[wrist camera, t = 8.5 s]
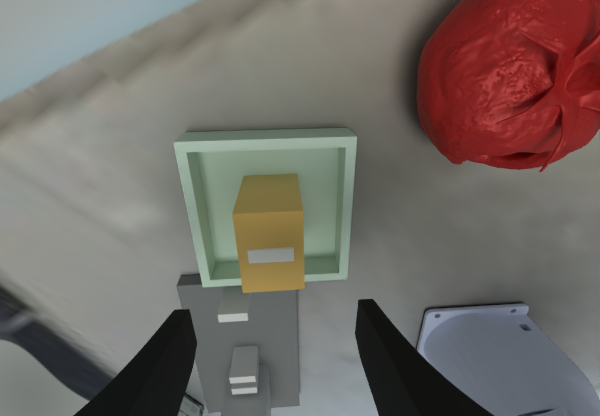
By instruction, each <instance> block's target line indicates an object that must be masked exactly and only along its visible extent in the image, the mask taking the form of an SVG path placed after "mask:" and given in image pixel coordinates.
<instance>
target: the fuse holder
mask: <svg viewBox="0 0 600 416" xmlns="http://www.w3.org/2000/svg"><path fill="white" fill-rule="evenodd" d="M177 290H178V294H179V298H180V302H181V306H182V309H190V313H191V318H192V322H193V326H194V331H195V335H196V339H197V348H196V354H195V361H196V365H197V369H198V373H199V377H200V381H201V385H202V389H203V393H204V397H205V401H206V405H207V409H208V412H209V413H211V412H222V406H223V400H224V394H225V387H226V381H227V375H228V369H229V367H231V370H230V376H229V379H230V384H232V388H231V390H232V395H235V394H249V393H257V390H258V374H259V365H266V364H268V370H269V381H270V391H271V408H275V407H288V406H300V404H299V366H298V328H297V290H283V291H267V292H250V293H243V291H242V285H237V286H219V287H203V286H202V281H201V276H200V275H184V276H181V277H180V279H179V281H178V284H177Z"/></svg>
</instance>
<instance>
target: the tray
mask: <svg viewBox="0 0 600 416" xmlns="http://www.w3.org/2000/svg"><path fill="white" fill-rule="evenodd" d="M173 144H174V149H175V154H176V159H177V164H178V169H179V173H180V178H181V183H182V188H183V193H184V198H185V203H186V208H187V213H188V218H189V222H190V227H191V232H192V237H193V242H194V247H195V252H196V257H197V262H198V267H199V271H200V276H201V281H202V286H203V287H219V286H237V285H242V283H241V276H240V269H239V261H238V254H237V246H236V239H235V231H234V224H233V216H232V213H233V210H234V207H235V203H236V200H237V197H238V193H239V190H240V187H241V183H242V180H243V177H244V176H251V175H276V174H297V176H298V182H299V188H300V193H301V199H302V205H303V211H304V277H305V282H308V281H326V280H343V279H347V275H348V260H349V246H350V231H351V217H352V203H353V188H354V174H355V159H356V145H357V136H356V135H355V134H354V133H353V132H352V131H351V130H350V129H348V128H313V129H278V130H243V131H209V132H186V133H184V134H183V135H182V136H180V137H179V138H178V139H177V140H175V141H174V142H173Z"/></svg>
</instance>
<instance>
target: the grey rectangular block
mask: <svg viewBox="0 0 600 416" xmlns="http://www.w3.org/2000/svg"><path fill="white" fill-rule="evenodd" d="M230 370H231V367H229V369H228V375H227V381H226V387H225V394H224V400H223V406H222V412H221V416H271V391H270V381H269V370H268V364H266V365H259V374H258V390H257V393H249V394H235V395H232V390H231V388H232V384H230V379H229V376H230Z"/></svg>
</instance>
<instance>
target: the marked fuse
mask: <svg viewBox="0 0 600 416" xmlns="http://www.w3.org/2000/svg"><path fill="white" fill-rule="evenodd" d="M232 216H233V224H234V231H235V239H236V246H237V254H238V261H239V269H240V276H241V283H242V291H243V293H250V292H267V291H283V290H300V289H305V277H304V211H303V205H302V199H301V193H300V188H299V182H298V176H297V174H276V175H251V176H244V177H243V180H242V183H241V187H240V190H239V193H238V197H237V200H236V203H235V207H234V210H233V213H232Z"/></svg>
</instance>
